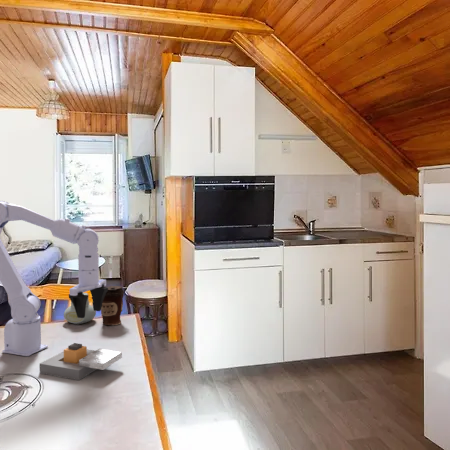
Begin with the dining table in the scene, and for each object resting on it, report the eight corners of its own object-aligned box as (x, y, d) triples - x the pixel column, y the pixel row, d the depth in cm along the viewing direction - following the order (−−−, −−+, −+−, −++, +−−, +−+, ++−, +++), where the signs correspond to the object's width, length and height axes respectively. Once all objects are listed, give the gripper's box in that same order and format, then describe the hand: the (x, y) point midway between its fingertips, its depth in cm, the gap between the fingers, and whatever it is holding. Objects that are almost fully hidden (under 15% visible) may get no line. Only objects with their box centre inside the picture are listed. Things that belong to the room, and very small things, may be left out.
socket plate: (39, 373, 101) (39, 363, 101) (72, 355, 112) (72, 347, 112) (79, 380, 97) (78, 370, 97) (108, 361, 109) (108, 352, 108)
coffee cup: (117, 328, 137) (116, 290, 136) (94, 326, 139) (94, 289, 138) (128, 320, 146) (127, 285, 145) (107, 319, 147) (106, 284, 146)
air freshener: (99, 318, 148) (99, 292, 147) (89, 325, 139) (89, 297, 139) (71, 317, 149) (70, 291, 148) (59, 324, 141) (59, 296, 140)
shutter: (79, 365, 99) (79, 359, 99) (99, 354, 107) (99, 348, 107) (103, 369, 97) (103, 363, 97) (121, 357, 105) (121, 352, 105)
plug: (63, 369, 104) (63, 346, 103) (74, 363, 107) (74, 341, 107) (76, 371, 102) (76, 348, 102) (86, 365, 106) (86, 343, 106)
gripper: (83, 274, 112) (84, 322, 113) (114, 266, 125) (114, 309, 126) (63, 272, 114) (64, 319, 115) (95, 265, 128) (95, 307, 128)
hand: (89, 314), depth 121 cm, fingers open, 7 cm apart
